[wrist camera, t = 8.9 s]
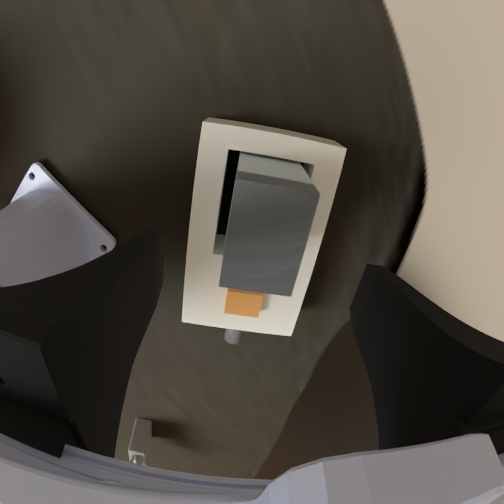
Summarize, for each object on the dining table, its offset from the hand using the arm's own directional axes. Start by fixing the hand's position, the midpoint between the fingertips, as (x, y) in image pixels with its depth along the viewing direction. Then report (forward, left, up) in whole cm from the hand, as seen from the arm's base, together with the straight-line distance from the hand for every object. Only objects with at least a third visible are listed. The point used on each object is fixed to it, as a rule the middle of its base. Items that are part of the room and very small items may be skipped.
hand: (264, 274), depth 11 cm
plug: (0, 0, -8) cm, 8 cm away
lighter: (-27, -12, -9) cm, 31 cm away
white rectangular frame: (-2, -2, -8) cm, 9 cm away
